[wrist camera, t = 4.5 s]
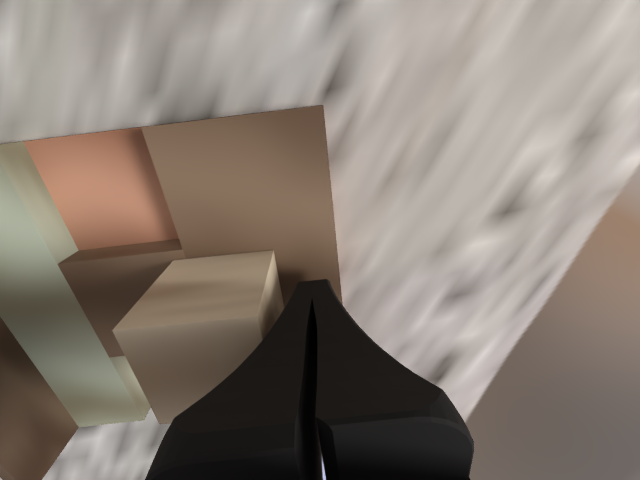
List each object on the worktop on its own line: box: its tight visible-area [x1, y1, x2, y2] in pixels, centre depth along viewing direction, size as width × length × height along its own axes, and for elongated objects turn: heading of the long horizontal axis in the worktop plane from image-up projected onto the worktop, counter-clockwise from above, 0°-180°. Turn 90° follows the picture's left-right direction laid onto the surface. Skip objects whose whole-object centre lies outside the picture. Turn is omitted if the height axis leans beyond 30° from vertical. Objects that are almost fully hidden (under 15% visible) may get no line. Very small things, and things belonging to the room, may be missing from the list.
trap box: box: [0, 105, 342, 480], centre depth 12 cm, size 14×15×4 cm
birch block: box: [112, 250, 284, 424], centre depth 11 cm, size 4×4×4 cm
